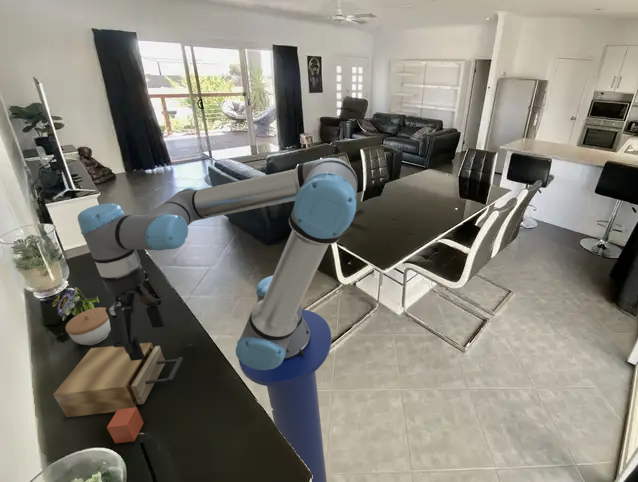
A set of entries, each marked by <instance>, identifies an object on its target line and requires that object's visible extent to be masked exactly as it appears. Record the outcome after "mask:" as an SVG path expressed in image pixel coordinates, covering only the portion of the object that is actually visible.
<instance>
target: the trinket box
mask: <svg viewBox="0 0 638 482" xmlns="http://www.w3.org/2000/svg"><path fill="white" fill-rule="evenodd" d="M106 308H107V307H102V306H100V307H95V308H93V309H89V310H87V311H85V310H83V312H82V313H80V314H78V315H76V314H75V315H76V316H74V317H72V318H71V319H70V320H69V321H68V322H67V323H66V325H65V331H66V333H67V334H68V336H69V337H70V339H71V340H72V341H73V342H75V343H77V344H78V345H83V346H84V345H85V346H94V345H97V344H99V343H101V342H103V341H104V340H105V339H107V338H108V337H109V334H110V333H111V328H110V322H109V317H108V315H107V313H106Z"/></svg>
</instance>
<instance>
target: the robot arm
mask: <svg viewBox="0 0 638 482" xmlns="http://www.w3.org/2000/svg"><path fill="white" fill-rule="evenodd" d="M358 183H359V182H358V176H357V174H356V172H355V170H354V168H353V167H352V166H351V165H350V164H349V163H348V162H346V161H344V160H342V159H340V158H337V157H326V158H320V159H316V160H312V161H307V162H302V163H299V164H297V165H296V167H295V168H294V169H289V170H284V171H281V172H275V173H271V174H266V175H262V176H257V177H253V178H248V179H242V180H238V181H232V182H229V183H223V184H218V185H215V186H209V187H205V188H201V189H200V188H197V187H192V186H191V187H186V188H183V189H182V190H179V191H177V192H176V193H175V194H174V195H173V196H171V197H170V198H168V199H167V200H166V201H164V202H163V203H161V204H160V205H159V206H158V207H155V209H153V210H152V211H150V212H148V213H147V214H125V211H124V210H123V208H122V207H121V205H119V204H116V203H102V204H96V205H93V206H90V207H88V208H86V209H84V210H82V211H80V213H78V214H77V222H78V225H79V228H80V233H81V235H82V237H83V238H84V241H85V243H86V245H87V247H88V250H89V252H90V254H91V257H92V259H93V261H94V263H95V266H96V268H97V271H98V273H99V275H100V277H101V281H102V284H103V286H104V289H105V291H107V292H108V293H110V294H112V295H113V303H112V306H107V307H105V308H106V313H107V315H108V317H109V322H110V328H111V331H110V333H111V340H112V346H114V348H116V347H124V349H125V351H126V353H127V354H128V355H129V357H130V359H131V361H133V360H143V359H144V357H145V356H144V354H143V351H142V349H141V346H140V344H141V343H140V341H139V339H138V336H135V311H136V310H137V303H138V302H141V303H143V304H144V305H145V306H147V307H146V308H145V311H146V313H147V317H148V319H149V321H150V325H151V327H152V329H155V328H164V327H165V326H166V324H165V322H164V319H163V316H162V313H161V308H160V306H161V305H162V304H163V300H162V297H163V296H162V293H161V292H160V290H159V288H158V286H157V285H156V284H155V282H154V281H153V279H152V277H151V274H150V271H144V268H143V266H142V264H141V259H140V257H139V254H138V251H142V250H143V251H167V250H176V249H179V248H181V247H182V246H183V245H184V244H185V243H186V239H187V238H188V234H189V225H191V224H192V223H193V222H196V221H200V220H201V221H202V220H205V219H210V218H215V217H219V216H224V215H230V214H234V213H235V214H236V213H240V212H245V211H249V210H255V209H260V208H264V207H270V206H275V205H280V204H286V203H290V202H294V204H293V208H292V210H291V213H290V215H289V218H288V224H289V226H290V229H291V232H290V234H289V237H288V239H287V241H286V244H285V246H284V249H283V251H282V253H281V256H280V258H279V261H278V263H277V266H276V268H275V270H274V273H273V274H272V275H270V276H267V277H265V278H263V279H262V280H260V281H259V282H258V283H257V285H256V291H255V293H256V296H257V301H256V303H255V305H253V307H252V309H251V312H250V315H249V317H248V318H247V321H246V323H245V327H244V329H243V331H242V333H241V335H240V338H239V339H238V340H237V341H236V342H237V343H236V347H235V355H236V358H237V360H238V361H239V360H240V361H241V362H242V363H243V364H244V365H246V366H248V367H250V368H253V369H257V370H268V369H274V368H276V367H278V366H279V365H280V364H281V363H282V362H283V361H286V360H290V359H293V358H295V357H297V356H298V355H300V354H301V355H302V357H303V356H304V355H305V354H304V353H303V352H304V351H305V349H306V348H307V347H308V345H309V343H310V338H311V336H310V329H309V327H308V325H307V323H306V322H305V320H304V318H303V317H302V302H303V300H304V298H305V296H306V294H307V291H308V289H309V288H310V285H311V283H312V281H313V280H314V277H315V275H316V273H317V271H318V269H319V266H320V264H321V262H322V260H323V258H324V255H325V253H326V252H327V250H328V247H329V245H333V244H336V243H338V241H339V240H340V239H341V237H342V235H343V233H344V232H345V231H346V230H347V229H348V228H349V227H350V225H351V223H352V222H353V221H354V218H355V215H356V212H357V205H358V203H357V195H358V194H357V193H358V185H359V184H358ZM137 250H138V251H137Z"/></svg>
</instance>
